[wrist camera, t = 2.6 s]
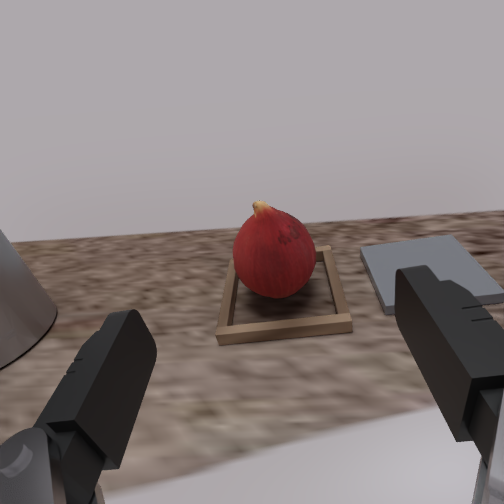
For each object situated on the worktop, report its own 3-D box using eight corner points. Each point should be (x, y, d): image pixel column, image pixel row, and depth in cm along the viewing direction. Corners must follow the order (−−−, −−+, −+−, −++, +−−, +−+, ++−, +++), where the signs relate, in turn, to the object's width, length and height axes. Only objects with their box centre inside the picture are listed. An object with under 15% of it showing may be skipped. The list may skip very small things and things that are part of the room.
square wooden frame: (219, 345, 21) (215, 335, 21) (232, 268, 29) (229, 259, 28) (352, 332, 20) (351, 321, 19) (330, 254, 27) (329, 245, 27)
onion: (309, 265, 27) (297, 175, 22) (330, 311, 22) (319, 208, 18) (242, 280, 27) (218, 194, 23) (248, 330, 22) (218, 232, 18)
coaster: (385, 315, 21) (385, 306, 20) (360, 255, 26) (359, 247, 26) (503, 302, 19) (506, 292, 19) (449, 243, 25) (451, 234, 25)
